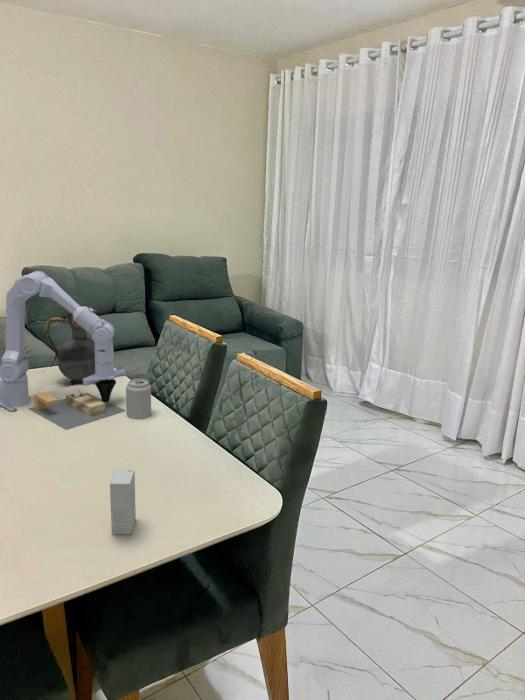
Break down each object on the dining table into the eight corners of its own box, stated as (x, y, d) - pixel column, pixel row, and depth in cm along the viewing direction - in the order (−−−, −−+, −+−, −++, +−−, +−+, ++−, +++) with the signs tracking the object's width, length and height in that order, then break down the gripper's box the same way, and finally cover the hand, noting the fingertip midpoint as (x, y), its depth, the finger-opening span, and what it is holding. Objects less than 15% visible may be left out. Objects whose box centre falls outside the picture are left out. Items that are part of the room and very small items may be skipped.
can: (154, 413, 173) (153, 378, 169) (147, 423, 166) (146, 386, 162) (131, 411, 173) (130, 376, 170) (123, 421, 166) (122, 384, 163)
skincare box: (115, 518, 117) (114, 468, 114) (136, 518, 117) (135, 468, 114) (110, 535, 111) (109, 483, 108) (131, 535, 112) (131, 483, 108)
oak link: (66, 404, 174) (66, 395, 173) (80, 400, 178) (80, 391, 177) (91, 416, 166) (90, 407, 165) (105, 412, 169) (105, 403, 169)
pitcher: (104, 387, 194) (101, 304, 185) (47, 389, 188) (42, 305, 180) (103, 377, 204) (101, 298, 195) (49, 379, 198) (44, 299, 190)
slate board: (28, 411, 169) (26, 393, 168) (87, 395, 185) (86, 378, 183) (66, 433, 156) (65, 413, 154) (126, 413, 172) (126, 396, 170)
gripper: (91, 368, 163) (92, 410, 167) (131, 359, 174) (131, 399, 178) (78, 363, 168) (80, 404, 171) (118, 354, 178) (118, 393, 182)
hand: (105, 401), depth 175 cm, fingers closed
